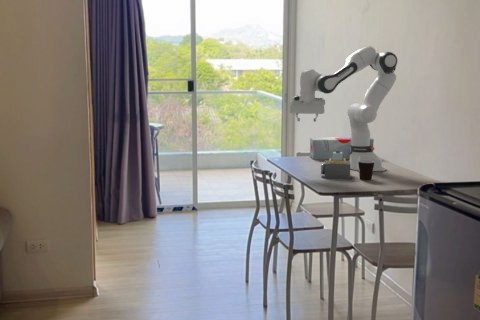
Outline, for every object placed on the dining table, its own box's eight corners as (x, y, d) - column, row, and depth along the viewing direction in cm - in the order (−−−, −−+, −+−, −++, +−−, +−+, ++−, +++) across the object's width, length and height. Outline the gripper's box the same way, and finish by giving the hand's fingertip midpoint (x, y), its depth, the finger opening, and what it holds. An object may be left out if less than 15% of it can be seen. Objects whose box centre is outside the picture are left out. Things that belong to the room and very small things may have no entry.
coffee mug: (370, 181, 314) (371, 163, 312) (355, 179, 319) (355, 161, 317) (377, 178, 324) (378, 160, 322) (362, 176, 328) (363, 158, 327)
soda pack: (368, 156, 397) (368, 136, 395) (373, 159, 384) (374, 138, 382) (309, 156, 394) (309, 136, 392) (312, 160, 382) (313, 139, 379)
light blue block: (341, 161, 329) (342, 149, 328) (342, 163, 324) (342, 150, 323) (332, 161, 330) (333, 149, 328) (333, 163, 325) (333, 150, 324)
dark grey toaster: (349, 174, 333) (349, 158, 331) (350, 178, 322) (350, 161, 320) (320, 173, 335) (321, 157, 333) (320, 177, 324) (321, 160, 323)
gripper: (325, 97, 341) (324, 121, 343) (290, 97, 343) (289, 120, 346) (325, 98, 334) (324, 122, 337) (289, 97, 337) (289, 121, 340)
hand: (306, 121), depth 341 cm, fingers open, 8 cm apart
